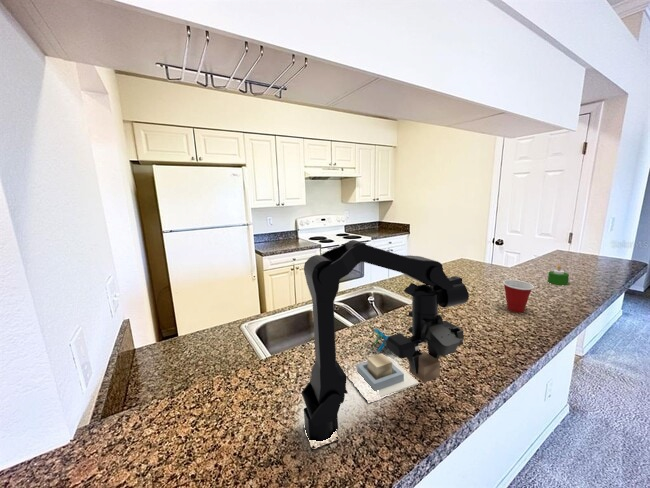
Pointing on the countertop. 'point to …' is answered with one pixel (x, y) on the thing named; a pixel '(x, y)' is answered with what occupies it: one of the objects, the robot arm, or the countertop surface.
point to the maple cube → (379, 366)
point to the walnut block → (427, 368)
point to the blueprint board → (388, 379)
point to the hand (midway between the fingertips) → (424, 369)
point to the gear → (380, 339)
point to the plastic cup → (517, 294)
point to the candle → (558, 277)
